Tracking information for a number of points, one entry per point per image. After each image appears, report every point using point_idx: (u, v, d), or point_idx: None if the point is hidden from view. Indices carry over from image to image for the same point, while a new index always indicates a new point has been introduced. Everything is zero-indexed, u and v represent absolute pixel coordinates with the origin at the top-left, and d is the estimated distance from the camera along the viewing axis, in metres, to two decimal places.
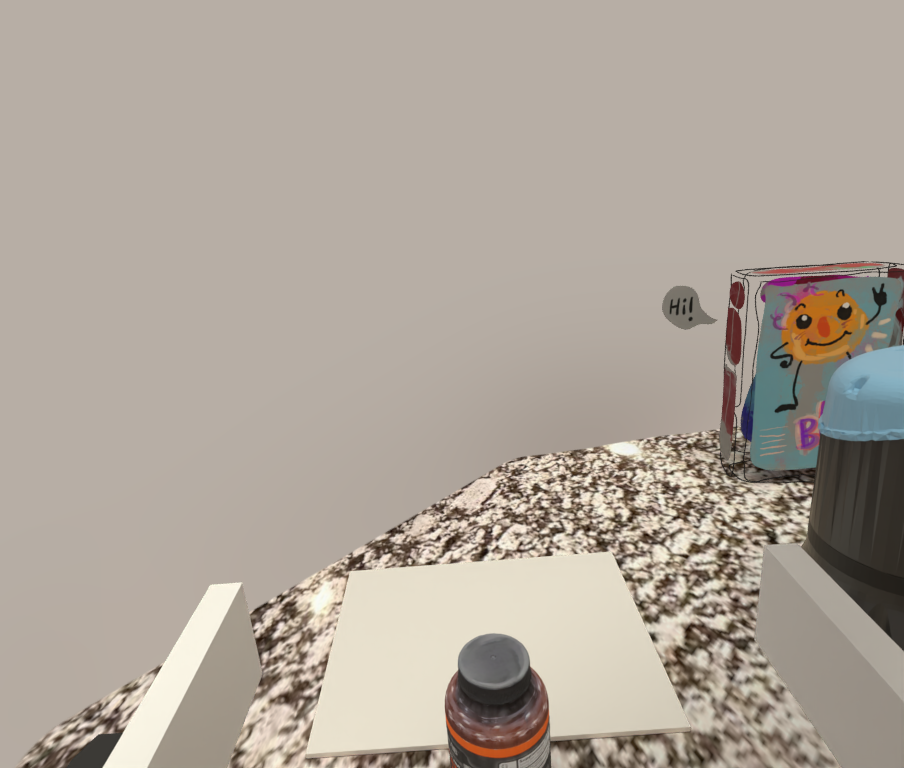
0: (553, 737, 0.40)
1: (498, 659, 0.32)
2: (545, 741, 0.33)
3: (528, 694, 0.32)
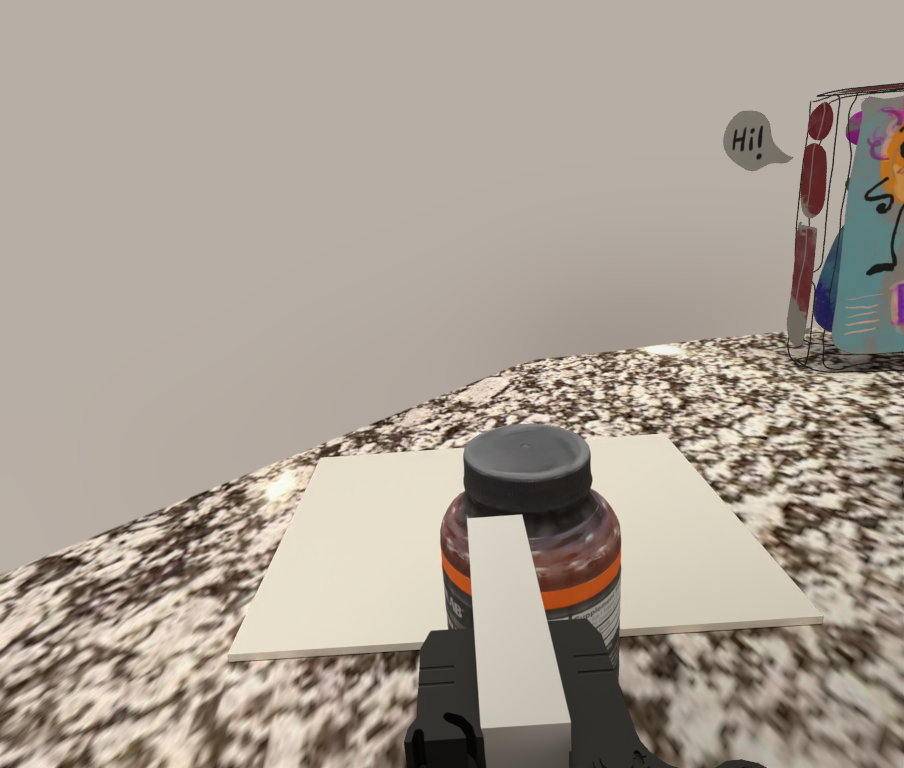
0: None
1: (534, 448, 0.18)
2: (616, 595, 0.19)
3: (589, 506, 0.18)
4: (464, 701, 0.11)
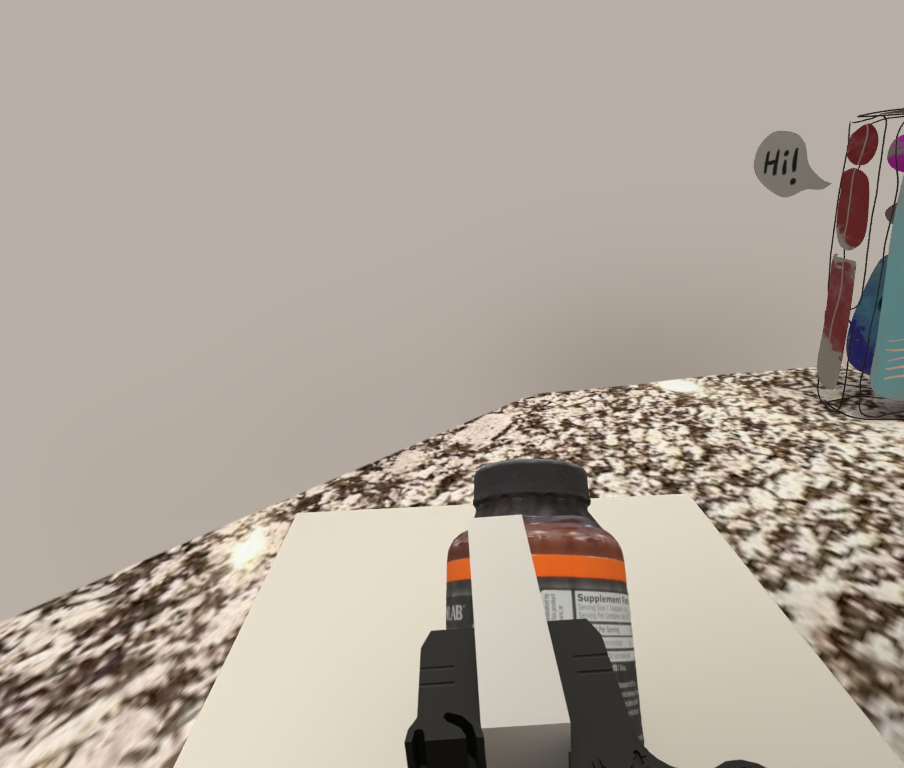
0: None
1: None
2: (624, 609, 0.18)
3: (588, 515, 0.20)
4: (464, 701, 0.11)
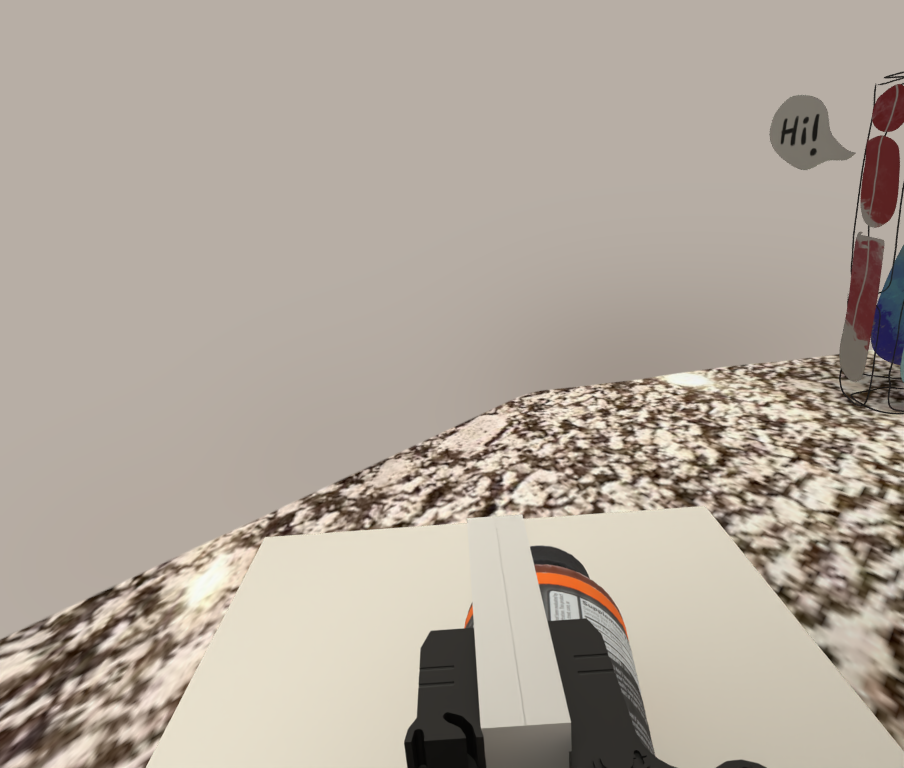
0: None
1: None
2: (627, 646, 0.20)
3: None
4: (464, 701, 0.11)
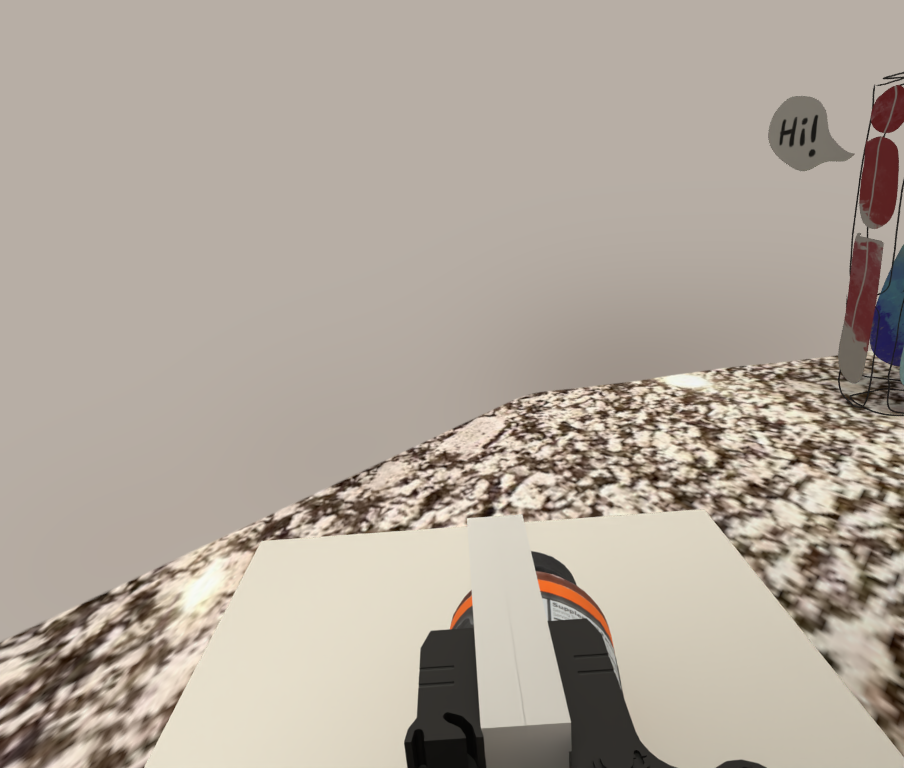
0: None
1: None
2: None
3: None
4: (464, 702, 0.11)
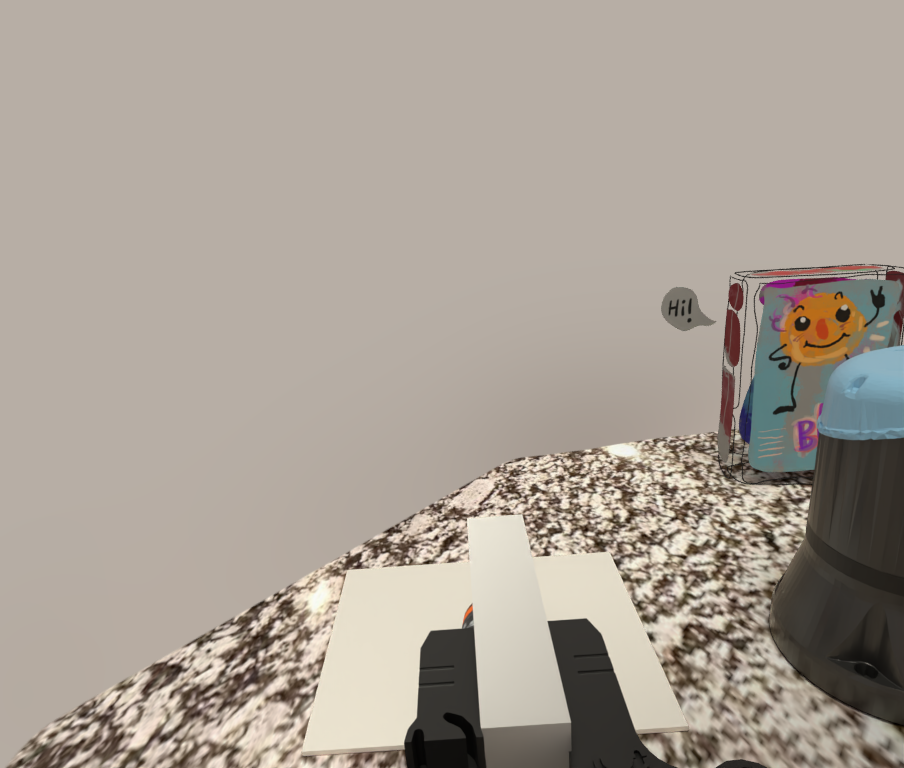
0: None
1: None
2: None
3: None
4: (464, 701, 0.11)
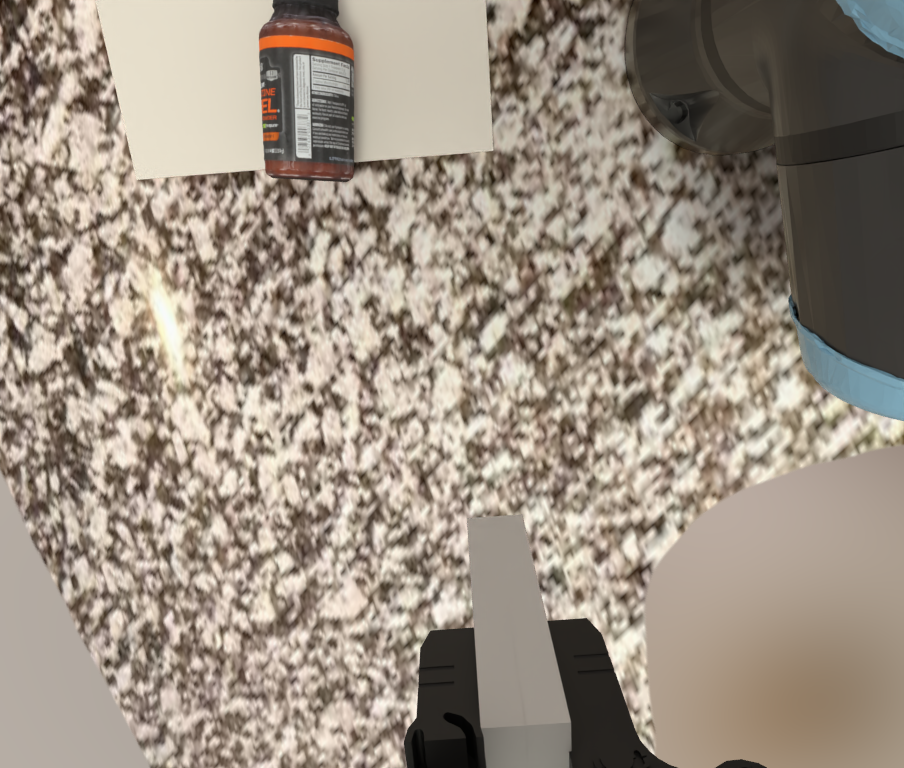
0: (366, 160, 0.43)
1: None
2: (342, 69, 0.37)
3: (331, 17, 0.37)
4: (464, 701, 0.11)
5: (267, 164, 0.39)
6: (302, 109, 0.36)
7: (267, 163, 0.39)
